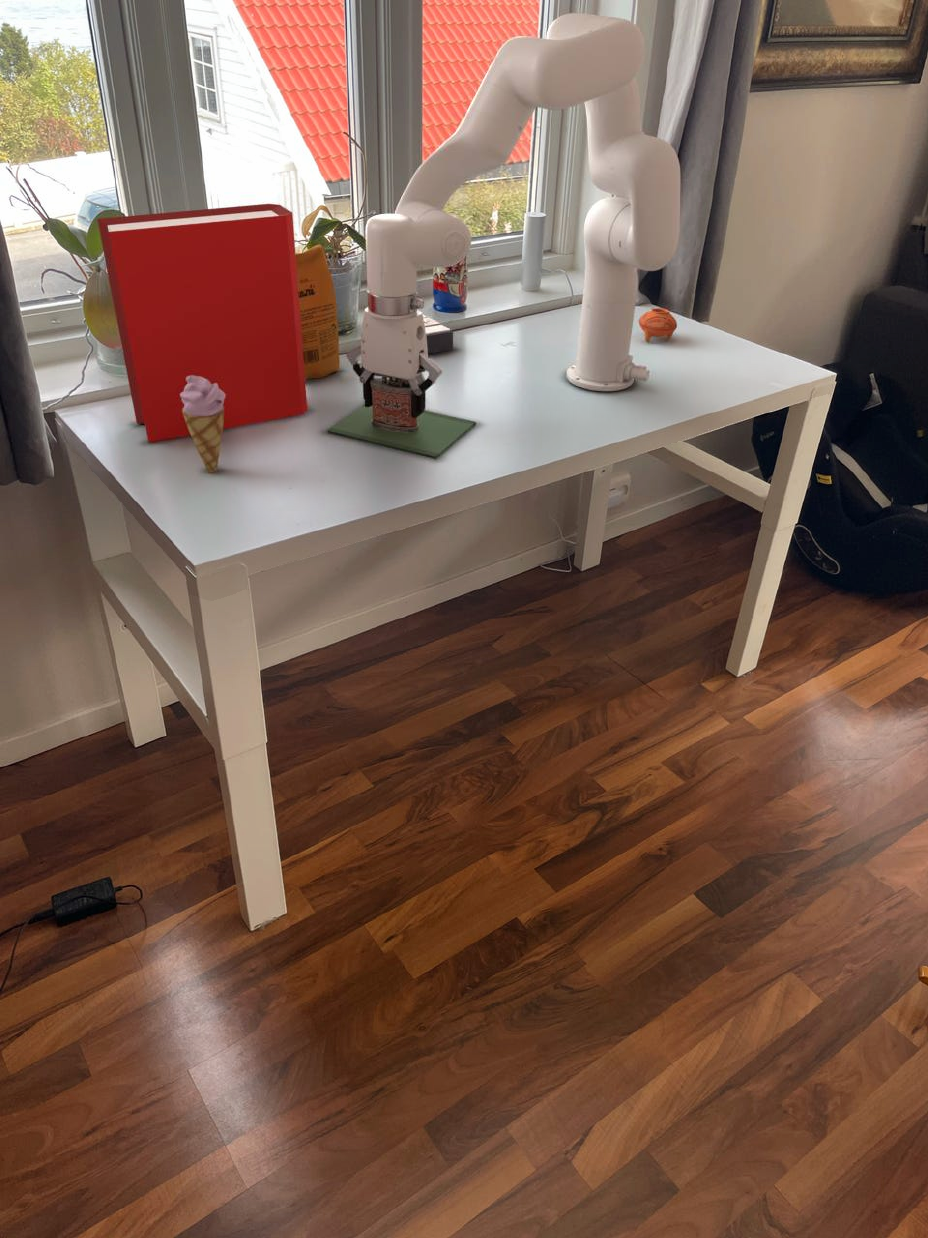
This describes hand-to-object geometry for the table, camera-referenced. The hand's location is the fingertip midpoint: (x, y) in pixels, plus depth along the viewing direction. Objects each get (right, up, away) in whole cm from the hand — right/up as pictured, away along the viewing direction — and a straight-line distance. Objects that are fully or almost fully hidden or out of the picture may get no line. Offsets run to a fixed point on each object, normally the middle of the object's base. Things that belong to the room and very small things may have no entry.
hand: (394, 409), depth 154 cm
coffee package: (-18, +12, +22) cm, 31 cm away
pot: (+51, +24, +41) cm, 70 cm away
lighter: (0, -3, +2) cm, 3 cm away
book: (-29, -1, +4) cm, 29 cm away
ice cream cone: (-27, -12, -11) cm, 31 cm away
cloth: (+1, -3, +3) cm, 4 cm away
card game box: (+1, +21, +36) cm, 42 cm away
